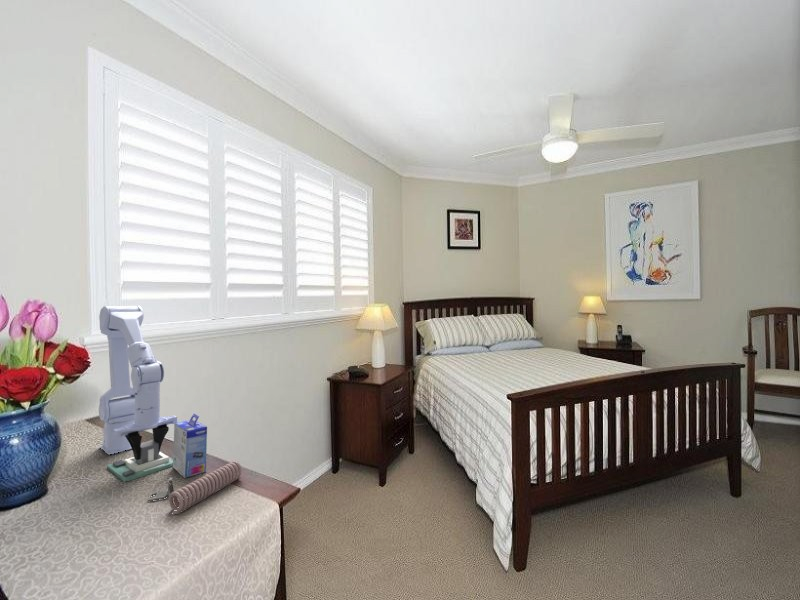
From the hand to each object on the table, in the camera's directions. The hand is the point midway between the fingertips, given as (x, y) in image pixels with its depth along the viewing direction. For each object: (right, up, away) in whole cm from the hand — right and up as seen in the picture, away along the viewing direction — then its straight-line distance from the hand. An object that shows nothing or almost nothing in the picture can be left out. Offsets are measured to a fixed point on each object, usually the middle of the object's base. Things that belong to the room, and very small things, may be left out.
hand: (146, 455), depth 100 cm
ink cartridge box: (+13, -3, -2) cm, 14 cm away
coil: (+25, -3, -14) cm, 29 cm away
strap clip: (+16, -3, -15) cm, 22 cm away
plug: (0, -2, 0) cm, 2 cm away
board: (-1, -3, 0) cm, 3 cm away
